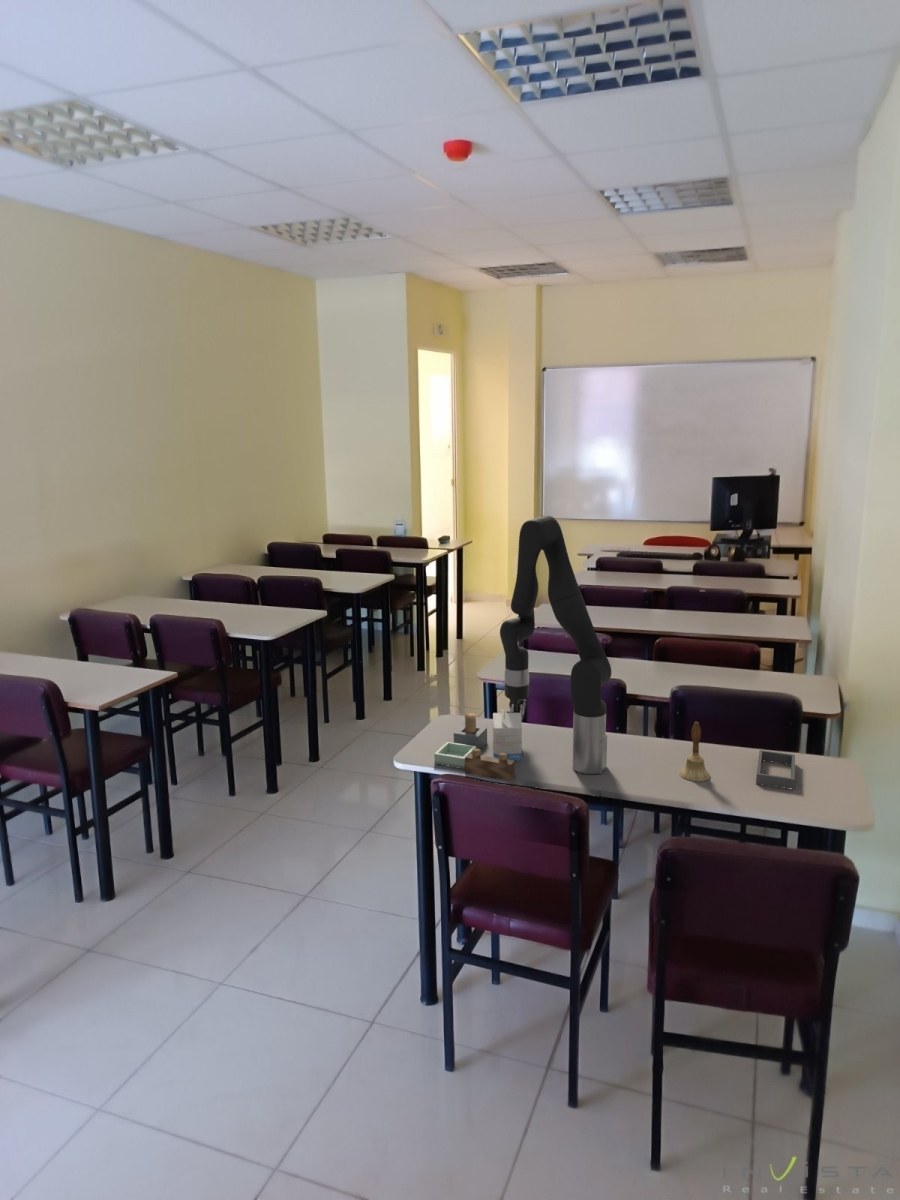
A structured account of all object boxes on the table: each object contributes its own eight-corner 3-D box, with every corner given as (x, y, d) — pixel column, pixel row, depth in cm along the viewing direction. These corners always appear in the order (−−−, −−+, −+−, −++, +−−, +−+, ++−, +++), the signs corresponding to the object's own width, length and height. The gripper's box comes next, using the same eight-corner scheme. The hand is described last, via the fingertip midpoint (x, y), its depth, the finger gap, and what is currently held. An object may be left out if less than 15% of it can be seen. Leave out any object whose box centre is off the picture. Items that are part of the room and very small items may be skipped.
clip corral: (794, 764, 231) (795, 754, 231) (793, 789, 215) (794, 779, 215) (758, 759, 235) (759, 749, 234) (755, 784, 219) (756, 774, 218)
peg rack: (514, 777, 226) (514, 754, 224) (511, 781, 223) (511, 758, 222) (468, 769, 231) (468, 746, 230) (464, 773, 229) (464, 750, 227)
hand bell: (689, 783, 220) (692, 729, 217) (673, 771, 228) (676, 718, 225) (716, 779, 222) (719, 725, 219) (699, 767, 230) (702, 715, 227)
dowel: (477, 744, 249) (477, 713, 247) (473, 748, 246) (473, 717, 244) (467, 742, 251) (467, 712, 249) (463, 746, 248) (463, 716, 245)
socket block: (487, 742, 251) (487, 727, 249) (478, 752, 243) (477, 736, 242) (463, 738, 254) (463, 724, 253) (453, 748, 246) (453, 733, 245)
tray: (476, 756, 240) (476, 746, 239) (464, 769, 232) (464, 758, 231) (447, 751, 244) (447, 741, 243) (434, 764, 235) (434, 753, 235)
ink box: (521, 761, 237) (522, 723, 231) (493, 761, 237) (493, 723, 231) (519, 744, 244) (520, 707, 239) (492, 744, 244) (492, 707, 239)
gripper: (521, 689, 236) (521, 744, 240) (535, 676, 248) (534, 728, 252) (497, 686, 239) (497, 740, 243) (512, 673, 251) (512, 724, 255)
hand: (516, 734), depth 248 cm, fingers closed
